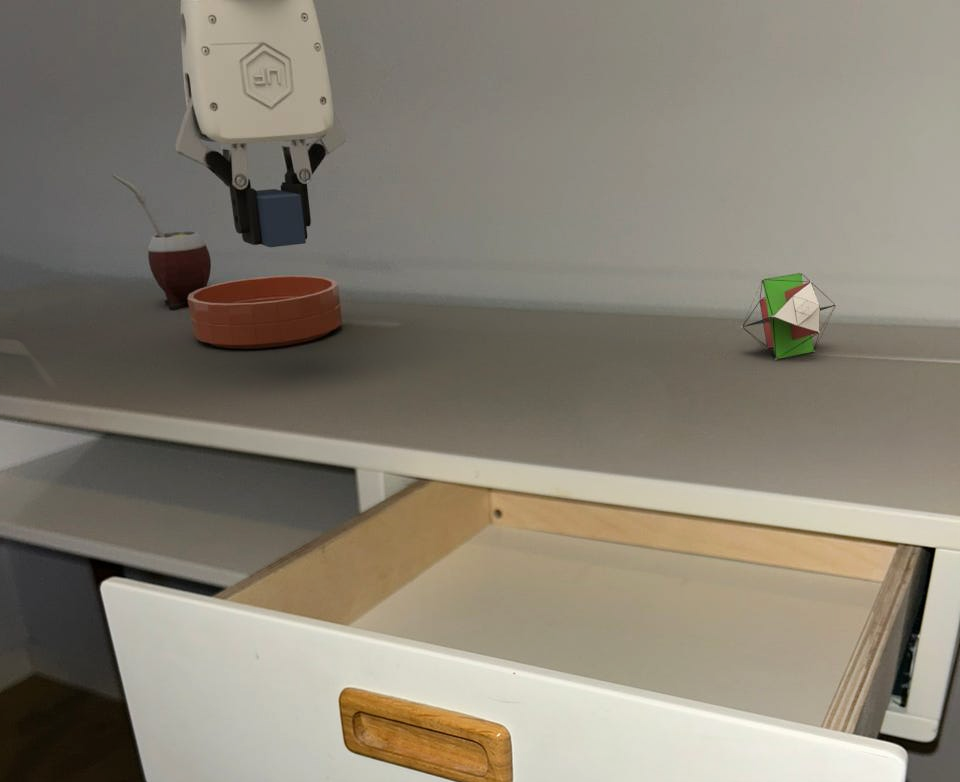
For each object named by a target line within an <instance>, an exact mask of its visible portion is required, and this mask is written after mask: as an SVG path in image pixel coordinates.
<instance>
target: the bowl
mask: <svg viewBox="0 0 960 782" xmlns="http://www.w3.org/2000/svg"><path fill="white" fill-rule="evenodd" d="M339 289H340V288H339V284H338V282H337V280H335V279H333V278H329V277H325V276H324V277H323V276H318V275H317V276H316V275H274V276H273V275H272V276H263V277H252V278H251V277H250V278H243V279H238V280H230V281H225V282H221V283H215V284H210V285H207V287H204V288H201V289H198V290H196V291H194V292H192V293H190V294H189V295H188V298H187V299H188V305H189V306H188V310H189V316H190V320H191V321H190V322H191V327H192V332H193V337H194V338H195V339H197V340H198V341H199V342H202V343H207V344H209V345H211V346H214V347H219V348H223V349H236V350H250V349H251V350H253V349H254V350H255V349H269V348H276V347H277V348H279V347H285V346H291V345H292V346H293V345H297V344H302V343H307V342H310V341H314V340H316V339H319V338H322V337H324V336H326V335H329V334H330V333H331V332H332V331H334V330H336V329H338V328H339V327H340V326H341V325H342V324H343V315H342V308H341V307H342V306H341V300H340V299H341V298H340V290H339Z"/></svg>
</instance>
